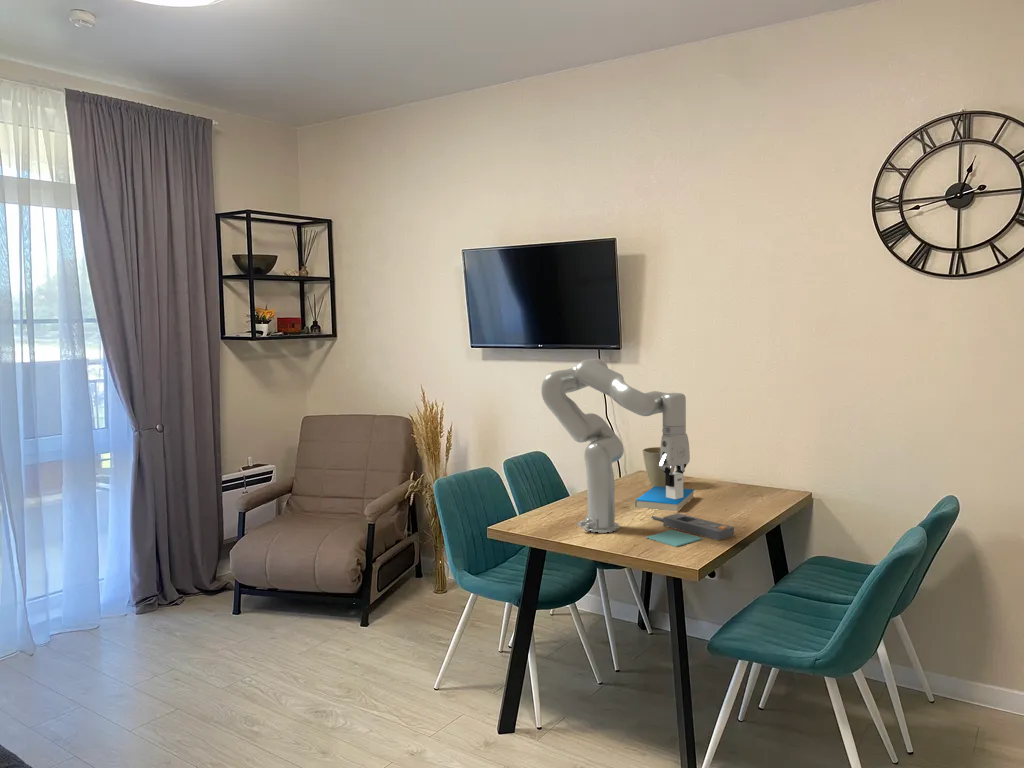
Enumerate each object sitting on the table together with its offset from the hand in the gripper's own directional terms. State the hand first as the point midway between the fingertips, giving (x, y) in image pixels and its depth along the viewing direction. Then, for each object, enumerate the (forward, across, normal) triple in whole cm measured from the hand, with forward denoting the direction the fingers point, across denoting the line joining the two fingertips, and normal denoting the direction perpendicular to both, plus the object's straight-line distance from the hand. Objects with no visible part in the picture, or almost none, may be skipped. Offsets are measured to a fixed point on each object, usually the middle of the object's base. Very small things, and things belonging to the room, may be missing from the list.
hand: (674, 484), depth 250 cm
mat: (+18, 0, 0) cm, 18 cm away
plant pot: (+19, +56, +55) cm, 80 cm away
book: (+19, +35, +34) cm, 52 cm away
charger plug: (+4, 0, 0) cm, 4 cm away
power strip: (+18, +13, +6) cm, 24 cm away
